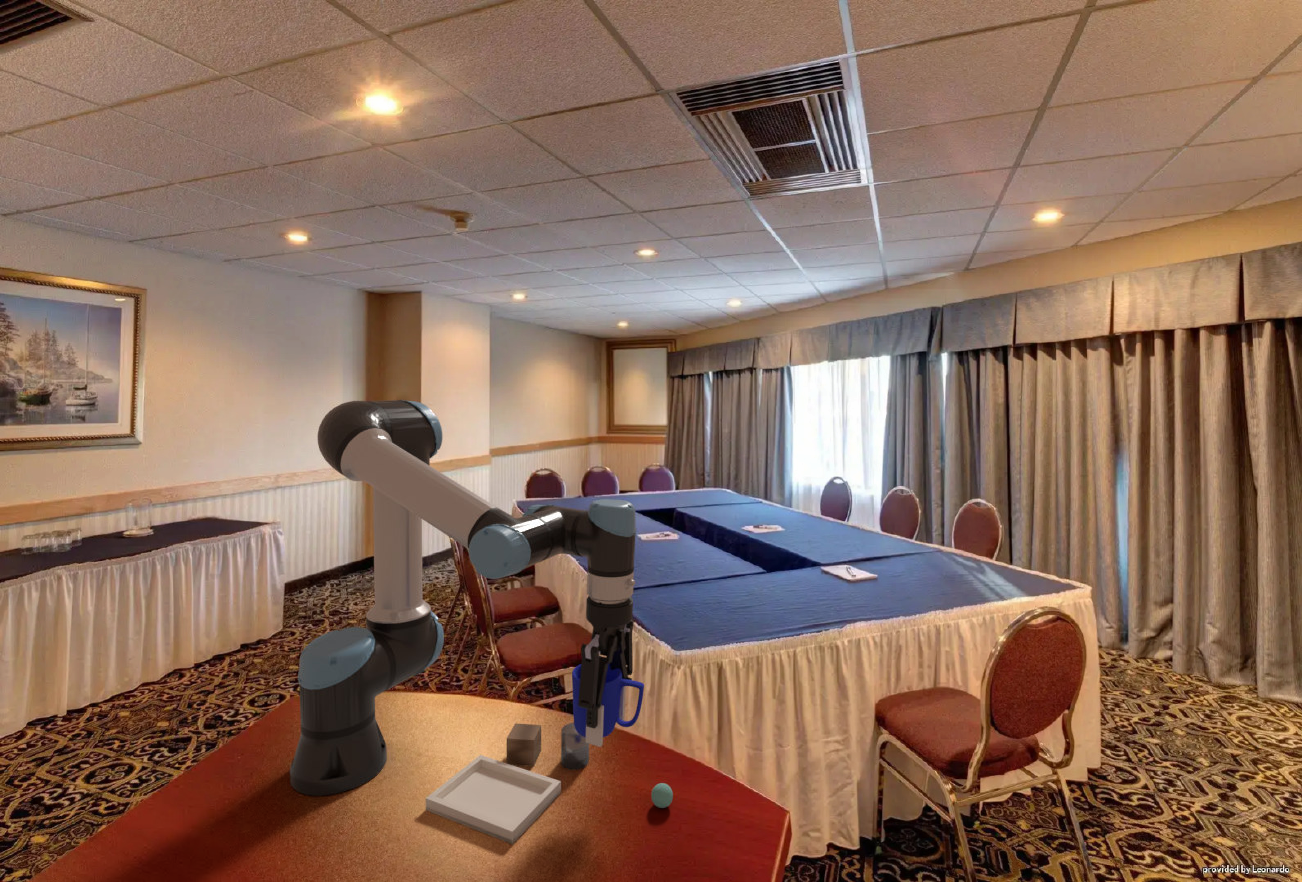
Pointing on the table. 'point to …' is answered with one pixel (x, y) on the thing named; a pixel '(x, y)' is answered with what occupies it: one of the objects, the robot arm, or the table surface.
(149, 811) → the table surface
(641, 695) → the mug
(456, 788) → the tray
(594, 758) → the table surface
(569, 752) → the tin
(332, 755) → the robot arm
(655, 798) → the ball
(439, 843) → the table surface
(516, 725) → the walnut block
